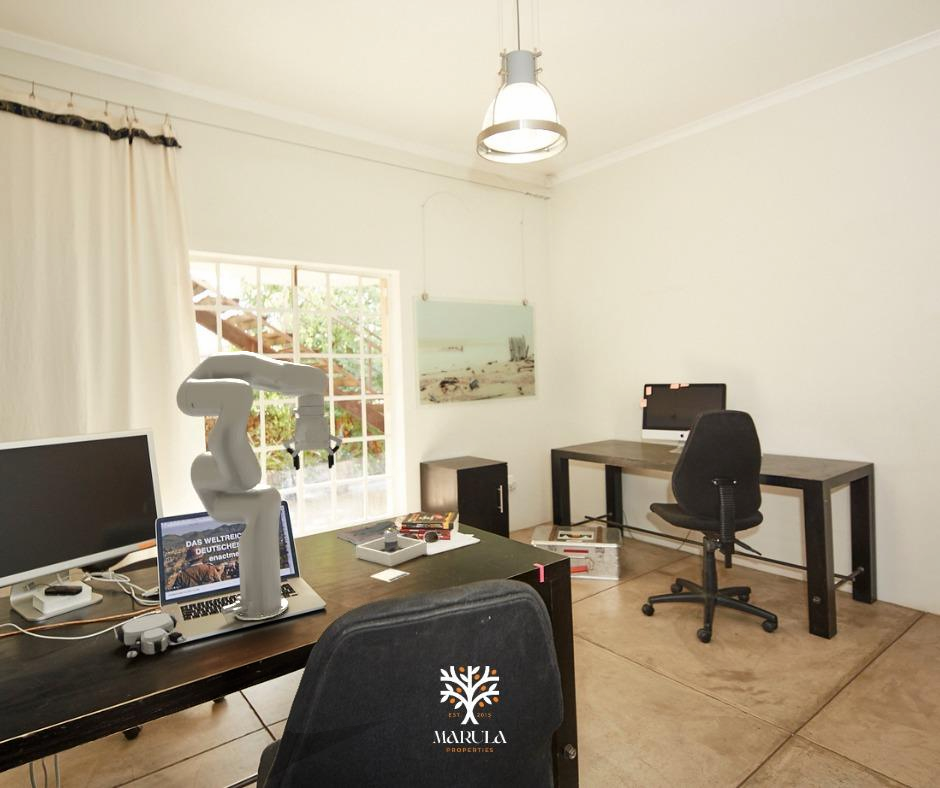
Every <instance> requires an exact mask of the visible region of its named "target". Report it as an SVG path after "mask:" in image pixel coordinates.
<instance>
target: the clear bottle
mask: <svg viewBox="0 0 940 788" xmlns="http://www.w3.org/2000/svg"><path fill="white" fill-rule="evenodd" d="M384 538H385V541H384V542H385V549H384V552H386V553H390V554H391V553H393V552H396V551H399V547H398V540H397V530H395V529H393V528H388V530H385V531H384Z"/></svg>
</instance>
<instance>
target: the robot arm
mask: <svg viewBox="0 0 940 788" xmlns="http://www.w3.org/2000/svg"><path fill="white" fill-rule="evenodd" d="M328 387H329V378H328V376H327V374H326V372H325V371H324V370H323V369H321V368H319V367H316V366H312V365H308V364H302V363H295V362H289V361H284V360H277V359H273V358H270V357H268V356H267V357H266V356H264V355H261V354H257V353H255V352H250V351H232V352H218V353H217V352H215V353H213V354H211V355H210V356H208V357H207V358H206V359H204V360H203V361H202V362H201V363H200V364H198V366H196V368H194V370H193V371H192V372H191V373H190V374H189V375H188V376H187V377H186V378H185V379H184V380H183V382H181V384H180V386H179V387H178V388H177V389H178V390H177V393H176V405H177V408H178V409H179V410H180V411H181V412H182V413H183V414H184V415H186V416H188V417H189V416H190V417H193V418H194V417H198V418H199V417H217V419H216V421H215V423H214V425H213V427H212V429H211V430H210V432H209V433H208V434H209V435H208V437H207V446H208V450H209V451H205V452H203V453H200V454H199V455H197V456H196V457H195V458H194V459H193V462H192V463H191V466H190V480H191V484H192V487H193V489H194V491H195V493H196V494H197V497H198V498H199V500H200V502H201V503H202V506H203V507H204V509H205V511H206V513H207V515H208V516H209V517H210V518H211V520H213V521H215V522H217V523H220V524H243V525H246V526H245V528H244V531H243V532H242V533H241V534H240V537H239V539H238V543H237V552H238V573H239V589H240V594H239V595H238V596H237V597H235V598H236V601H234V602H233V603H232V604H228V605H224V606H223V607H221V609H220V612H221V614H222V616H227V615H228V614H232V615H233V616H235V614H236V615H237V616H239V617H243V618H261V617H266V616H271V615H275V614H278V613H279V612H281V611H283V610H285V609H286V608H287V606H288V607H289V601H288V600H287V599H285V598H283V597H282V583H281V582H282V581H281V577H282V576H281V562H280V561H281V560H280V540H279V539H280V538H279V535H280V532H279V528H280V527H279V525H280V517H281V510H282V496H281V493H280V492H279V490H278V489H277V488H275V487H274V486H272V485H268V484H264V483H263V484H260V483H261V480H262V472H263V471H262V468H261V466H260V463H259V461H258V458H257V456H256V454H255V452H254V450H253V446H252V445H251V443H250V440H249V437H248V433H247V428H248V423H249V417H250V414H251V410H252V408H253V404H254V391H253V389H255V390H259V391H263V392H268V393H280V394H281V395H282V396H284V397H297V408H293V414H296V415H298V416H296V417H295V420H294V436H292V437H291V438H289V439H287V440H285V441H283V442H282V445H283V446H284V448H285V451H286V452H287V453H288V454H289V455H290V456H291V457H292V461H293V465H292V466H293V468H295V471H299V470H300V469H301V467H300V466H301V464H300V459H301V458H300V456H299V453H300V452H303V451H305V452H306V451H322V450H324V451H326V452H327V453H328V455H327V462H328V463H327V466H328V467H327V468H328V469H332V468H333V466H334V465H335V453H337V451H338V450H339V449H340V448H341V445H342V443H343V439H342V438H341V437H340V438H339V437H338V436H335V435H334V434H331V431H330V424H329V418H328V416H327V415H325V414H326V413H325V412H326V411H325V393H326V391H327V390H328ZM332 441H333V442H336V444H335V446H334V447H333V448H332V446H331V443H332ZM293 442H294V449H293V448H292V447H291V445H290V444H292V443H293ZM240 614H242V615H240ZM261 615H263V616H261Z"/></svg>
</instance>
